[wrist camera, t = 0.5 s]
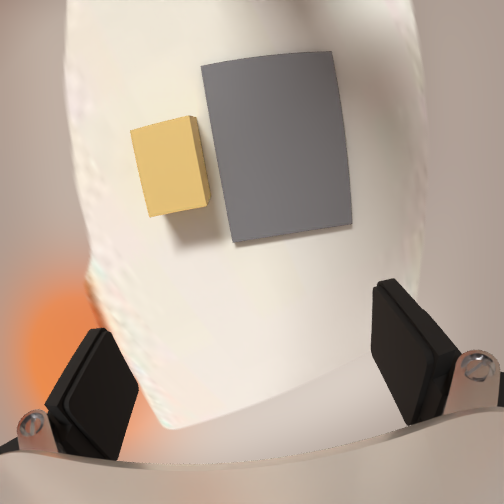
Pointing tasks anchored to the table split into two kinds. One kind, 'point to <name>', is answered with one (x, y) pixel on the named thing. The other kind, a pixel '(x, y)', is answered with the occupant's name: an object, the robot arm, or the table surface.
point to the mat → (279, 143)
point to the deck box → (171, 166)
